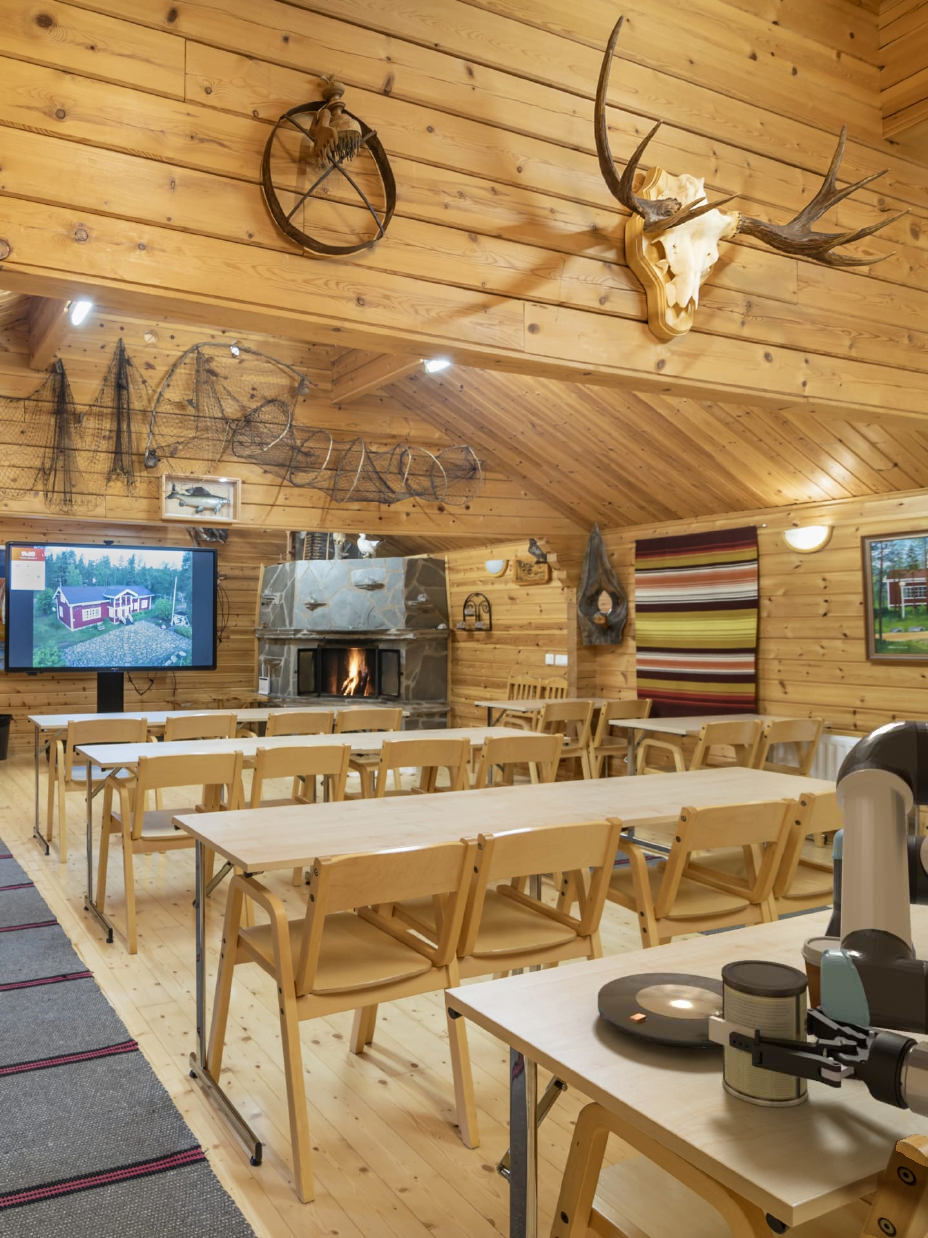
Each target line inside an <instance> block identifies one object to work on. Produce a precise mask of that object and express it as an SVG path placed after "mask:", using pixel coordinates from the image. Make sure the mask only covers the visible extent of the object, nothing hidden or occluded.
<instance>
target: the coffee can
mask: <svg viewBox="0 0 928 1238" xmlns="http://www.w3.org/2000/svg"><path fill="white" fill-rule="evenodd" d="M720 975H721V979H722V980H721V981H722V992H723V993H722V995H723V1001H722V1002H723V1020H726V1021H729V1022H732V1023H735V1024H738V1025H741V1026H744V1027H747V1028H750V1029H753V1030H760V1036H764V1037H772V1038H780V1039H788V1040H796V1041H805V1042H808V1034H807V1008H808V977H807V976H806V974H805V973H804V972H803V971H802V970H800V969H798V968H796V967H793V966H790V965H787V964H783V963H780V962H776V961H768V960H759V959H758V960H757V959H753V960H752V959H744V960H738V961H731V962H729V963H727V964H725V965H723V966H722V967H721V974H720ZM721 1079H722V1081H721V1083H722V1086H723V1087H724V1089H725V1090H726V1091H727V1092H728V1093H729V1095H732V1096H733V1097H735V1098H737V1099H739V1100H741V1101H744V1102H746V1103H750V1104H753V1105H757V1106H760V1107H769V1108H770V1107H771V1108H785V1107H793V1106H797V1105H799V1104H802V1103H804V1102H805V1101H806V1100H807V1098H808V1096H809V1090H808V1089H809V1088H808V1079H805V1078H801V1077H796V1076H792V1075H788V1074H783V1073H779V1072H775V1071H770V1070H766V1069H762V1068H757V1067H754V1066H752V1055H751V1054H748V1053H745V1052H743V1051H740V1050H737V1049H734V1048H731V1047H728V1046H726V1045H723V1047H722V1078H721Z"/></svg>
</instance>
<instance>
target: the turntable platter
mask: <svg viewBox="0 0 928 1238" xmlns="http://www.w3.org/2000/svg"><path fill="white" fill-rule="evenodd" d="M597 993H598V994H597V1011H598V1013H599V1015H600V1016H601V1017H602V1019H603V1020H604V1021H606V1022H607V1023H608V1025H611V1026H612V1027H613V1028H615V1029H617V1030H619V1031H621V1032H623V1033H625V1034H628V1035H630V1036H632V1037H636V1038H639V1039H642V1040H646V1041H649V1042H653V1043H656V1042H657V1043H656V1044H659V1043H662V1044H661V1045H663V1044H668V1045H674V1046H684V1047H700V1048H699V1049H703V1048H702V1047H710V1048H723V1044H720V1043H717V1042H714V1041H712V1040H709V1017H711V1016H714V1017H717V1018H720V1019H723V1002H722V1001H723V995H722V993H723V992H722V980H720V979H717V978H713V977H708V976H702V975H698V974H689V973H678V972H647V973H645V972H644V973H636V974H630V975H626V976H621V977H619V978H615V979H613V980H611V981H608V982H607V983H606V984H604V985H603V986H602V987H601V988H600V989H599V991H598V992H597ZM668 1045H667V1046H668ZM674 1046H673V1047H674Z"/></svg>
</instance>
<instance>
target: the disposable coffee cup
mask: <svg viewBox="0 0 928 1238" xmlns="http://www.w3.org/2000/svg"><path fill="white" fill-rule="evenodd" d="M840 941H841V938H839V937H829V936H825V935H824V936H813V937H808V938H806V939H805V940H804V943H803V947H801V948H800V954H801V955H802V958H803V960H804V967H805V973H806V974H805V975H806V976H807V977H808V986H807V992H808V998H809V1007H810V1008H811V1009H814V1010H815V1011H817V1007H818V1006H821V994H820V979H821V958H822V952H823V951H824V950H825V949H838V948H840ZM827 1018H828V1017H827ZM828 1019H829V1018H828Z"/></svg>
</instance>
